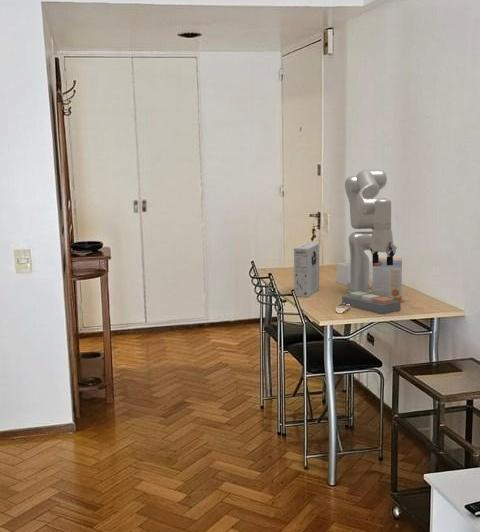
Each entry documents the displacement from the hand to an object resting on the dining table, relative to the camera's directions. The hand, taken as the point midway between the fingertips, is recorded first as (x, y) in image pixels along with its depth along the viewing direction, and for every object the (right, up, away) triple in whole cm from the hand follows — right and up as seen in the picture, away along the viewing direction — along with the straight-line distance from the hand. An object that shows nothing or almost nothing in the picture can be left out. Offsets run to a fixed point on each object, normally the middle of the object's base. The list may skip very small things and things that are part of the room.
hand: (382, 264), depth 316 cm
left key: (-8, -16, +16) cm, 24 cm away
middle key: (-4, -17, +9) cm, 20 cm away
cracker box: (+7, -18, +23) cm, 30 cm away
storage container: (+3, -10, +72) cm, 72 cm away
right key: (+1, -18, +3) cm, 19 cm away
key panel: (-4, -20, +10) cm, 23 cm away
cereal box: (-30, -15, +46) cm, 57 cm away
